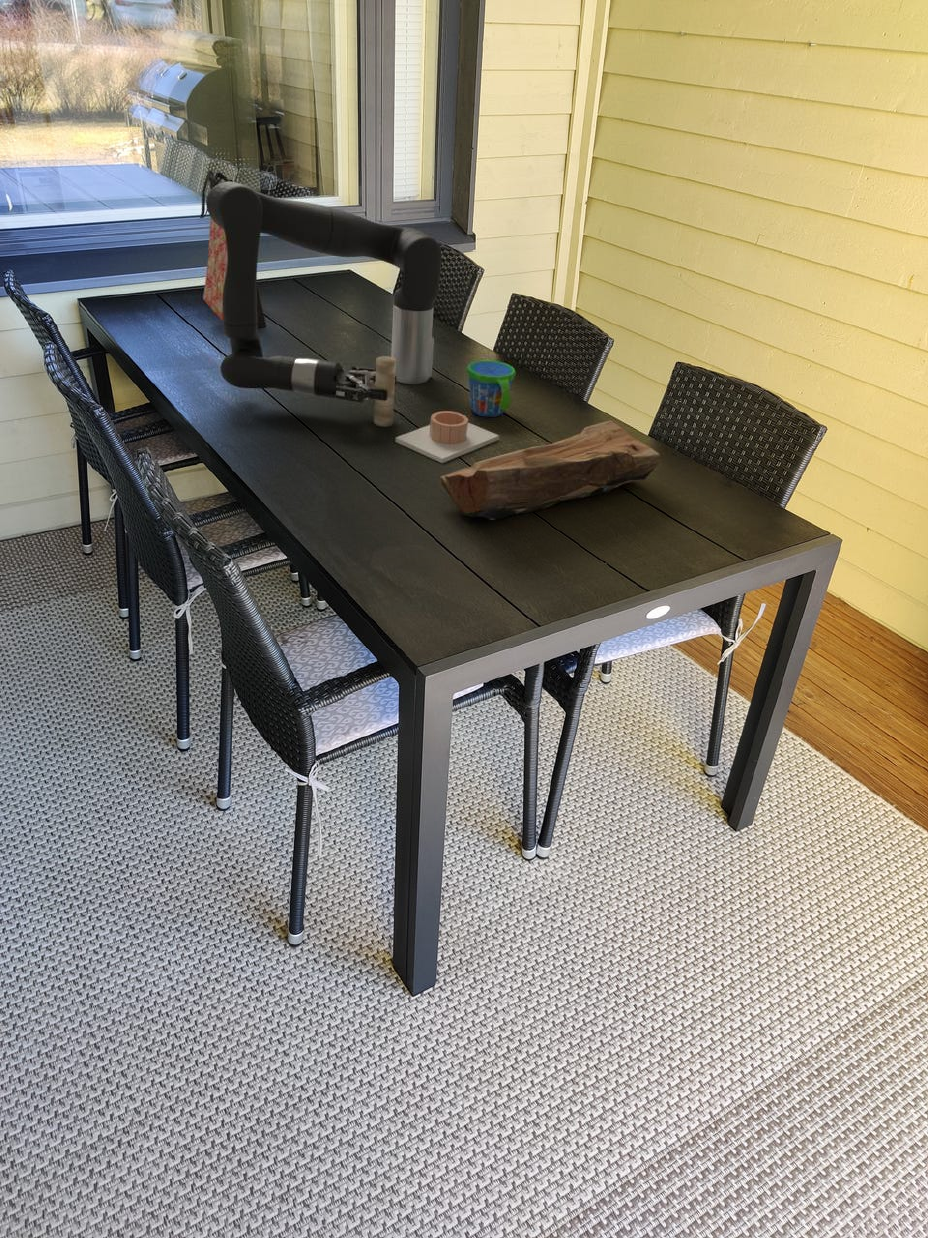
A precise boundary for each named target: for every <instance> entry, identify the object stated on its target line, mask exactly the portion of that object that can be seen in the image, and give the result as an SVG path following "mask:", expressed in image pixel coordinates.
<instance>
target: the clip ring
mask: <svg viewBox="0 0 928 1238" xmlns="http://www.w3.org/2000/svg"><path fill="white" fill-rule="evenodd" d="M468 423H469V418H468V417H467V416H466V415H465V414H462V413H460V412H456V411H451V410H450V411H447V410H446V411H445V410H444V411H442V410H441V411H438V412H435V413H432V414H431V417H430V423H429V425H430V434H429V436H430V437H431V439H433V440H434V441H436V442H439V443H443V444H459V443H462V442H464V441H465V440H466V438H467V429H468Z"/></svg>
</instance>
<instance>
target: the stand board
mask: <svg viewBox="0 0 928 1238" xmlns="http://www.w3.org/2000/svg"><path fill="white" fill-rule="evenodd" d="M429 434H430V424H428V425H426V426H423V427H421V428H417V429H415V430H413V431H409V432H407V433H404V434H402V435H397V437H395V443H397V444H399V445H401V446H403V447H406V448H408V449H411V450H413V451H415V452H417V453H419V454H421V455H422V456H423V455H424V456H425V457H428V458H430V459H431V460H434V461H436V462H439V463H440V464H444V463H446V462H448V461H451V460H454V459H456V458H458V457H460V456H463V455H466V454H468V453H470V452H472V451H475V450H478V449H480V448H483V447H485V446H487V445H490V444H493V443H495V442H497V441H499V439H500V435H498V434H497V433H494V432H491V431H489V430H487V429H484V428H482V427H480V426H477V425H474V424H472V423H470V422H468V429H467V438H466V440H465V441H464V442H462V443H459V444H443V443H439V442H436V441H434V440H433V439H431V437H430V436H429Z"/></svg>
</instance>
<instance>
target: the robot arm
mask: <svg viewBox="0 0 928 1238" xmlns="http://www.w3.org/2000/svg"><path fill="white" fill-rule="evenodd" d="M222 182H223V183H220V184H218V185H216V186H214V187H213V188H212V189H211V190H209V192H208V193H207V196H206V198H205V199H206V200H205V205H206V207H205V208H206V209H207V214H208V215H209V218H210V217H211V218H212V220H213V221H214V222H215V223H216V224H217V225H218V226H219V227H221V228H223V229H224V232H225V237H226V243H227V270H226V276H225V282H224V287H223V298H222V305H223V321H222V324H223V332H224V335H225V336H226V338H228V339H229V342H230V349H231V353H229V354H228V355H227V356H225V358H223V360H222V362H221V364H220V373H221V376H222V378H223V379H224V381H225V382H227V383H228V384H229V385H231V386H234V387H237V388H242V389H277V390H281V391H289V392H296V393H299V394H304V395H307V396H308V395H309V396H316V397H323V398H329V399H336V400H337V399H338V400H343V401H349V402H354V403H355V402H356V403H361V404H362V403H364V402H365V401H368V400H370V399H371V400H375V399H376V400H383V401H386V400H387V398H388V391H387V390H386V389H379V388H375V387H371V386H372V385H375V383H376V367H372V366H369V367H368V366H362V365H351V367H350V370H344V369H343V367H342V363H340V362H339V361H331V360H325V359H317V358H310V357H295V356H288V355H287V356H286V355H273V356H270V357H264V355H263V350H262V345H261V339H260V336H259V332H258V328H259V327H258V320H257V286H258V279H257V278H258V261H259V248H260V247H259V246H260V240H261V234H265V235H268V236H271V237H275V238H278V239H281V240H283V241H285V242H288V243H290V244H293V245H296V246H298V247H300V248H304V249H307V250H310V251H313V252H317V253H320V254H325V255H327V256H328V255H329V256H334V257H338V258H361V257H365V258H372V259H376V260H379V261H381V262H384V263H387V264H390V265H392V266H395V267H397V268H398V269H400V270H402V281H401V287H400V288H396V290H395V292H394V294H393V313H392V333H391V334H392V335H391V336H392V337H391V356H390V357H392V358H394V359H395V360H396V365H395V386H396V385H397V383H401V384H406V385H419V384H423V383H426V382H428V381H429V380H430V378H431V377H432V376H433V366H434V365H433V364H434V363H433V362H434V349H435V348H434V347H435V338H434V337H433V323H434V306H435V300H436V298H437V295H438V293H439V289H440V288H439V287H440V279H441V271H442V270H441V269H442V250H441V247H440V244H439V243H438V241H437V240H436V239H435V238H433V237H432V236H430V235H429V234H427V233H425V232H423V231H421V230H419V229H416V228H412V227H405V226H404V227H403V226H396V225H388V224H382V223H378V222H374V221H372V220H369V219H366V218H364V217H362V216H359V215H356V214H353V213H351V212H347V211H344V210H341V209H337V208H334V207H330V206H326V205H321V204H316V203H310V202H305V201H298V200H293V199H292V200H289V199H285V198H284V199H283V198H277V197H273V196H270V195H267V194H264V193H261V192H259V191H256V190H254V189H253V188H252V187H249V186H247V185H245V184H242V183H240V182H239V183H238V182H236V181H233V182H231V181H229V182H226V181H222Z"/></svg>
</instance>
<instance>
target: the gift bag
mask: <svg viewBox="0 0 928 1238" xmlns="http://www.w3.org/2000/svg"><path fill="white" fill-rule="evenodd" d="M222 180H223V181H222ZM229 181H231V182H234V180H233V179H229V178H228V177H226V176H225V175H224V174H223V173H222V172H220V171H218V172H217V173H215V174H214V172H213V170H209V171H208V173H207V175H206V177H205V179H204V182H203V186H202V191H201V192H202V194H201V213H200V216H199V219H204V217H206V215H207V214H208V211H207V208H206V207H205V205H206V200H205V199H206V197H205V196H206V194H205V192H206V188H207V184H208V182H209V189H210V190H211V189H212V188H213V187H214V186H216V185H218V184H220V183H223V182H229ZM210 190H209V191H210ZM205 210H206V211H205ZM208 239H209V240H208V253H207V264H206V275H205V280H204V282H205V283H204V290H203V296H202V300H203V301H204V302H205V303H206V304H207V305H208V306H209V308H210V309H211V310H212V311H213V312H214V313H215V315H216V316H217V317H218V318H219V319H220V320H221V321H222V322H223V305H222V298H223V287H224V282H225V276H226V270H227V243H226V237H225V232H224V229H223V228H221V227H219V226H218V225H217V224H216V223H215V222H214V221H213V220H212V218H211V217H210V216H209V237H208ZM257 320H258V328H265V327H267V324H266V318H265V315H264V311H263V306H262V301H261V297H260V292H259V287H258V285H257Z"/></svg>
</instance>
